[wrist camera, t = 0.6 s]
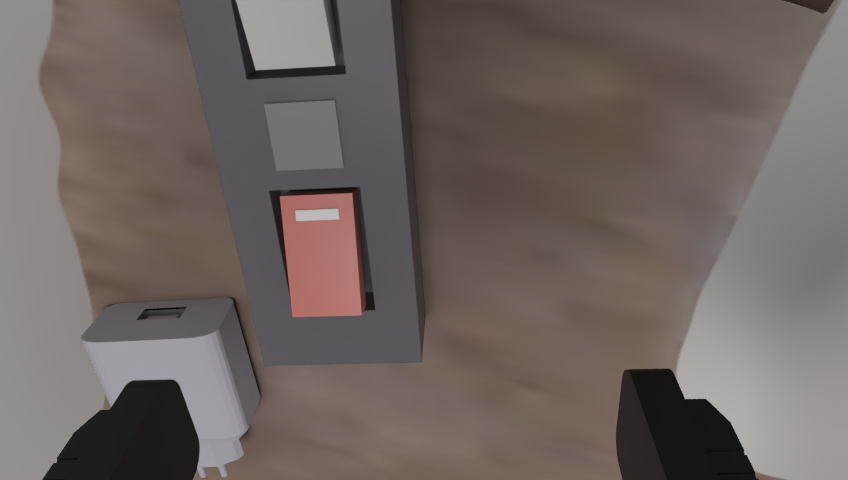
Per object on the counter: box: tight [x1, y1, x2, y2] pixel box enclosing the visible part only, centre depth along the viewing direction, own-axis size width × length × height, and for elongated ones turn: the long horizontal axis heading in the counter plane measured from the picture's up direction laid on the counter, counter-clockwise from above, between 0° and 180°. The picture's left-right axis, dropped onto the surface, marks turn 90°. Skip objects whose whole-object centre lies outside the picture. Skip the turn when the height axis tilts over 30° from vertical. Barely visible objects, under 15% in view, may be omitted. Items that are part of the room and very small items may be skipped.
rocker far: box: [280, 189, 366, 317], centre depth 36 cm, size 7×4×2 cm, turn 4°
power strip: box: [178, 0, 425, 366], centre depth 33 cm, size 36×10×5 cm, turn 4°
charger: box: [81, 298, 260, 478], centre depth 45 cm, size 5×9×15 cm
